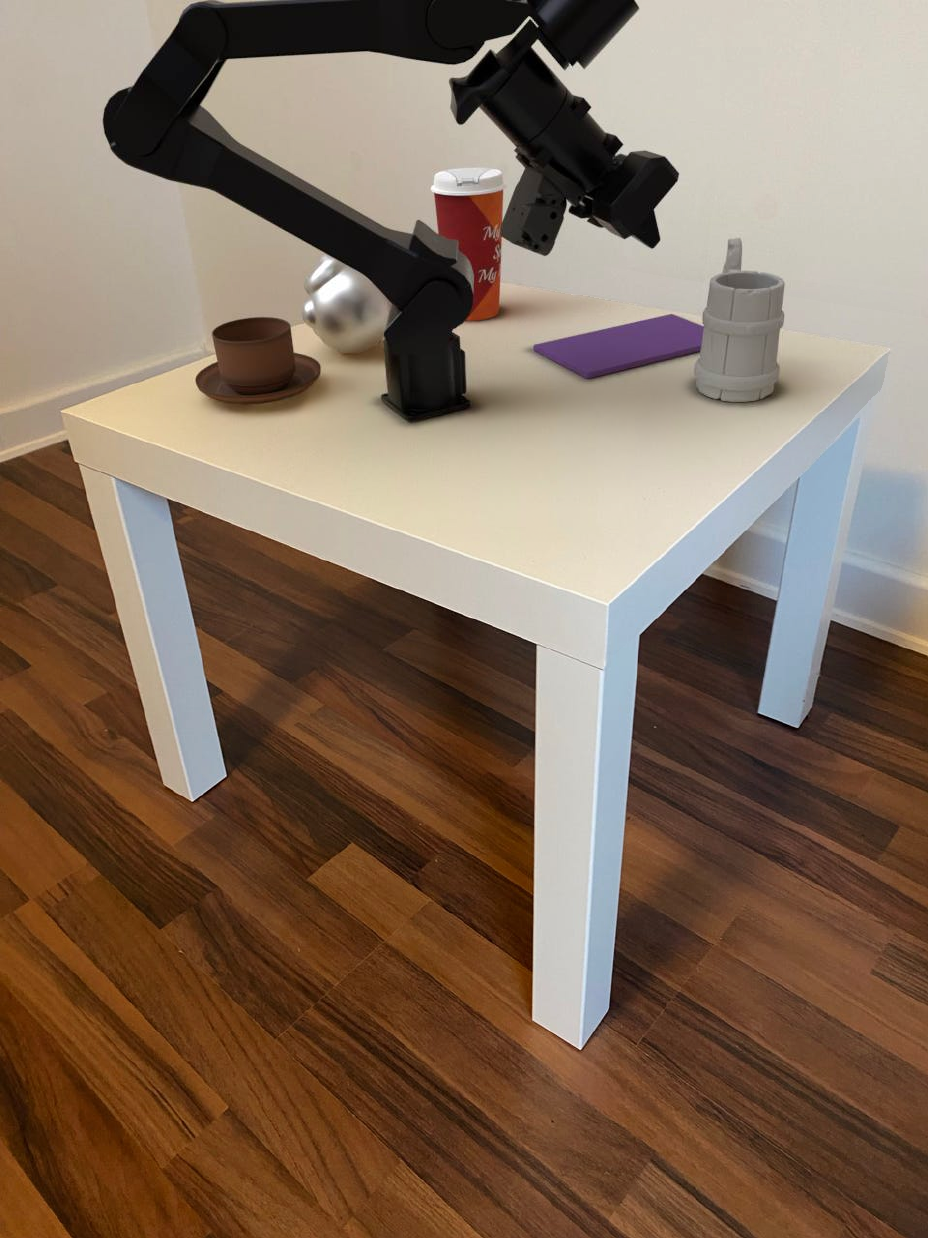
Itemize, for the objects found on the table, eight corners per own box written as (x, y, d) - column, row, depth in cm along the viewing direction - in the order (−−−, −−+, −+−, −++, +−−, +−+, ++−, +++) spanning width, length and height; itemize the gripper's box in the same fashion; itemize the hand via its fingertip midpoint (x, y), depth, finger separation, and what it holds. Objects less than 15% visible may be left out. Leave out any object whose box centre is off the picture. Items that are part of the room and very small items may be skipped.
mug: (701, 405, 88) (715, 268, 81) (678, 360, 98) (688, 234, 91) (786, 402, 88) (807, 264, 81) (755, 357, 98) (771, 231, 91)
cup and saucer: (178, 390, 96) (165, 328, 93) (285, 361, 102) (276, 302, 99) (233, 426, 88) (221, 360, 85) (346, 392, 94) (339, 328, 91)
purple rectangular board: (587, 378, 95) (587, 372, 94) (533, 350, 102) (533, 344, 102) (732, 343, 101) (732, 337, 101) (671, 318, 109) (671, 313, 108)
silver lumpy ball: (345, 331, 110) (335, 238, 104) (412, 345, 105) (405, 248, 99) (289, 356, 104) (275, 258, 98) (357, 371, 99) (346, 270, 93)
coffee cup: (509, 322, 110) (507, 178, 101) (436, 325, 110) (428, 182, 102) (507, 300, 117) (505, 164, 108) (439, 303, 117) (431, 167, 109)
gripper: (441, 180, 87) (554, 290, 96) (514, 222, 72) (640, 348, 81) (522, 72, 84) (631, 195, 93) (616, 94, 70) (735, 237, 78)
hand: (655, 243), depth 87 cm, fingers closed
